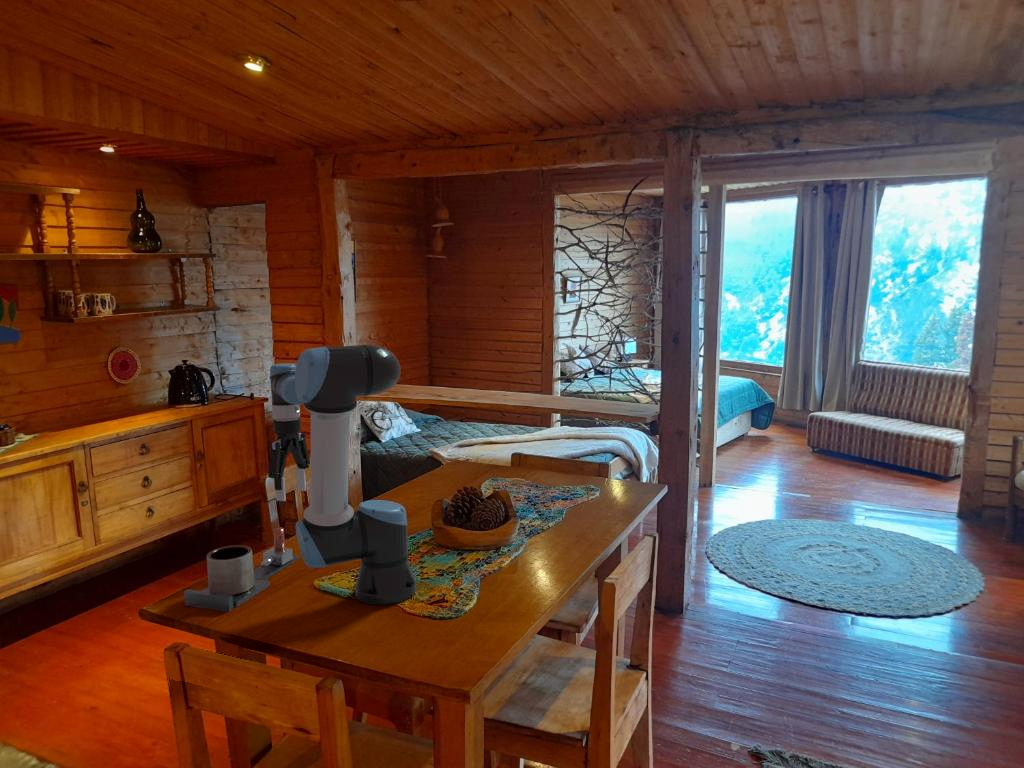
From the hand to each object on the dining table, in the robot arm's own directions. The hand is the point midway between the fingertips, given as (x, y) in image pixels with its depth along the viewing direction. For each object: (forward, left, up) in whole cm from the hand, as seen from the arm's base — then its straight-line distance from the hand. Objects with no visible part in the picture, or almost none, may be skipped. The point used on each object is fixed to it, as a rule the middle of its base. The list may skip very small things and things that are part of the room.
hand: (291, 495), depth 209 cm
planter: (-21, +18, -17) cm, 32 cm away
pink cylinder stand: (-8, +6, -17) cm, 19 cm away
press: (-15, +13, -18) cm, 26 cm away
